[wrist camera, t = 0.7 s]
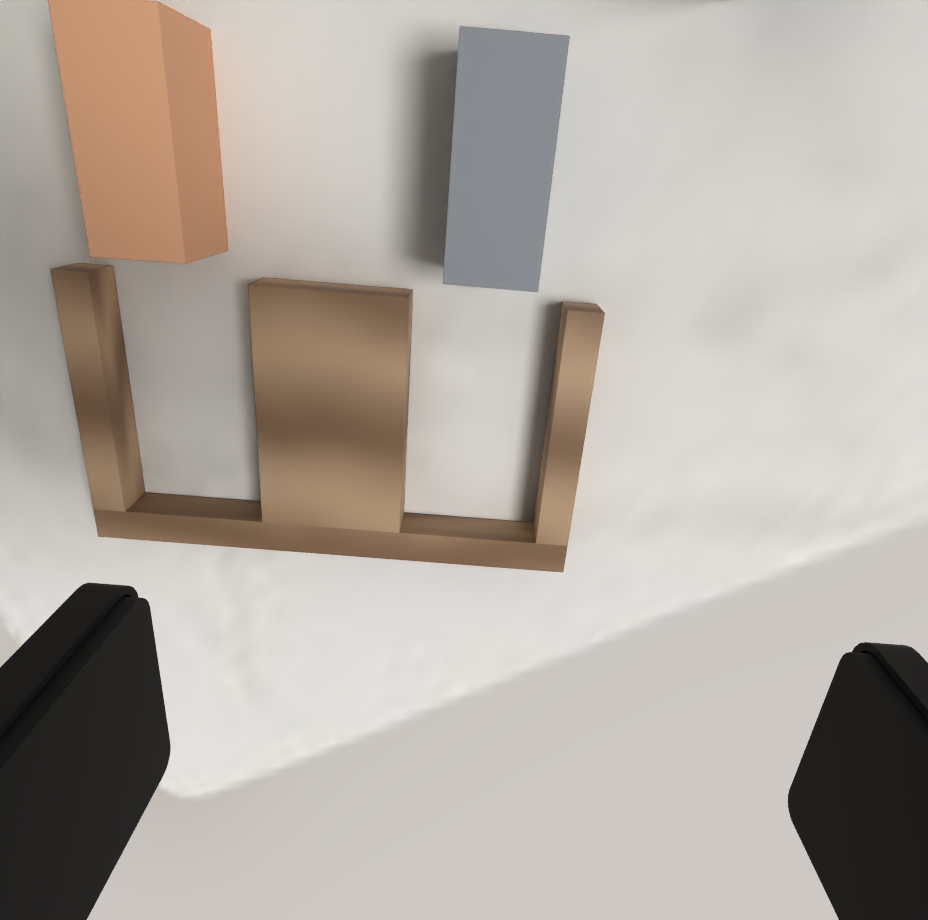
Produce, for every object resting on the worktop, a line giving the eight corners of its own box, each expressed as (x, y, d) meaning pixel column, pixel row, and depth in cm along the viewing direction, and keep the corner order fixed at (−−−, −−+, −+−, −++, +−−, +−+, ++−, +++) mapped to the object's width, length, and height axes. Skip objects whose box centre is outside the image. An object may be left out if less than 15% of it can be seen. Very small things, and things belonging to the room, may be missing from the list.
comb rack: (78, 263, 28) (50, 269, 26) (596, 304, 28) (604, 313, 26) (119, 516, 33) (98, 536, 31) (558, 550, 33) (563, 572, 31)
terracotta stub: (119, 23, 25) (46, -7, 20) (211, 29, 25) (157, 1, 20) (148, 244, 28) (90, 257, 24) (229, 250, 28) (185, 263, 24)
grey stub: (463, 50, 25) (459, 26, 21) (555, 59, 25) (569, 35, 21) (448, 267, 28) (442, 283, 24) (529, 274, 28) (537, 292, 24)
